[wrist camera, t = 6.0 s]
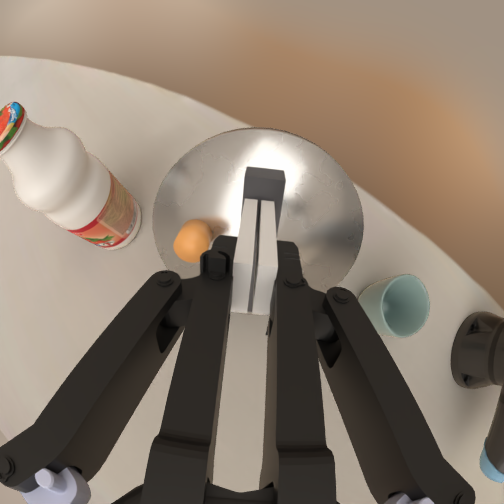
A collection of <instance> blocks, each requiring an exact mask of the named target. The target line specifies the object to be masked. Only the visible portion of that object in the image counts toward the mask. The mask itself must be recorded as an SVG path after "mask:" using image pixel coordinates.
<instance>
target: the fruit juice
mask: <svg viewBox="0 0 504 504" xmlns="http://www.w3.org/2000/svg"><path fill="white" fill-rule="evenodd" d="M0 158H1V159H2V161H3V162H4V163H5V164H6V166H7V167H8V169H9V171H10V172H11V174H12V178H13V186H14V190H15V193H16V195H17V197H18V198H19V200H20V201H21V202H22V203H23V204H24V205H25V206H27V207H28V208H30V209H32V210H35V211H39V212H44V214H45V215H46V217H47V218H48V219H50V220H51V221H52V222H53V223H55V224H56V225H58V226H60V227H61V228H64V229H66V230H68V231H70V232H71V233H73V234H75V235H77V236H79V237H81V238H83V239H85V240H87V241H89V242H91V243H93V244H95V245H97V246H99V247H101V248H104V249H108V250H115V249H120V248H122V247H124V246H126V245H127V244H129V243H130V242H131V241H132V240H133V239H134V237H135V236H136V234H137V233H138V230H139V228H140V224H141V211H140V208H139V205H138V203H137V202H136V200H135V199H134V198H133V197H132V196H131V195H130V193H129V192H128V191H127V190H126V189H125V188H124V187H123V186H122V185H121V183H120V182H119V181H118V180H117V179H116V178H115V177H114V176H113V175H112V173H111V172H110V171H109V170H108V169H107V168H106V166H105V165H104V164H103V163H102V162H101V161H100V160H99V159H98V158H97V157H96V156H94V155H93V154H92V153H90V152H87V151H86V150H85V147H84V145H83V143H82V141H81V139H80V138H79V137H78V136H77V135H76V134H75V133H74V132H72V131H71V130H69V129H67V128H64V127H44V126H41V125H38V124H36V123H34V122H32V121H31V120H29V119H28V118H27V112H26V111H25V110H24V108H23V106H21V105H20V104H19V103H17V102H11V103H9V104H7V105H6V106H5V107H3V108H2V109H1V110H0Z"/></svg>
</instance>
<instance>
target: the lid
mask: <svg viewBox="0 0 504 504" xmlns="http://www.w3.org/2000/svg"><path fill="white" fill-rule="evenodd" d="M245 198H246V199H255V200H258V202H257V215H256V228H255V242H254V255H253V267H252V275H251V284H250V292H249V301H248V309H247V313H244V314H252V307H253V292H254V276H255V261H256V245H257V234H258V226H259V217H260V209H261V201H262V200H265V201H274V206H275V222H276V239H277V240H281V241H290V242H294V243H295V245H296V246H297V247H298V250H299V256H300V261H301V267H302V274H303V277H304V278H305V279H306V280H307V282H308V286H310V287H311V288H313V289H315V290H318V291H321V292H324V293H326V292H327V290H329V289H330V288H332V287H336V286H337V285H338V284H339V283H340V282H341V281H342V280H343V278H344V277H345V276H346V275H347V273H348V272H349V270H350V269H351V267H352V266H353V264H354V262H355V260H356V258H357V255H358V253H359V250H360V247H361V243H362V238H363V230H364V224H363V212H362V207H361V202H360V199H359V197H358V194H357V191H356V189H355V187H354V185H353V183H352V182H351V180H350V178H349V177H348V175H347V174H346V173H345V171H344V170H343V169H342V168H341V166H340V165H339V164H338V163H337V162H336V160H334V159H333V158H332V157H331V156H330V155H329V154H328V153H327V152H326V151H325V150H323V149H322V148H320V147H319V146H318V145H316V144H315V143H313V142H311V141H309V140H307V139H305V138H303V137H301V136H299V135H296V134H293V133H290V132H287V131H283V130H278V129H273V128H259V127H251V128H241V129H235V130H231V131H227V132H223V133H220V134H218V135H215V136H213V137H210V138H208V139H206V140H205V141H203V142H201V143H200V144H198V145H196V146H195V147H194V148H192V149H191V150H190V151H189V152H187V153H186V154H185V155H184V156H183V157H182V158H181V159H180V160H179V161H178V162H177V163H176V164H175V165H174V166H173V167H172V168H171V170H170V171H169V172H168V174H167V175H166V177H165V179H164V180H163V182H162V184H161V186H160V188H159V191H158V193H157V196H156V200H155V203H154V209H153V233H154V239H155V243H156V246H157V249H158V252H159V254H160V256H161V258H162V260H163V262H164V264H165V265H166V267H167V268H168V270H169V271H174V272H176V273H178V274H179V276H180V277H181V279H187V278H193V277H196V276H198V275H200V256H201V254H202V253H203V252H205V251H207V250H211V248H212V245H213V242H214V239H215V238H217V237H218V236H219V235H226V236H236V237H238V233H239V228H240V222H241V217H242V211H243V206H244V201H245ZM237 313H238V312H237ZM269 314H270V312H269ZM254 315H258V314H254Z"/></svg>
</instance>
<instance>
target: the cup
mask: <svg viewBox="0 0 504 504" xmlns="http://www.w3.org/2000/svg"><path fill="white" fill-rule="evenodd" d="M358 302H359V303H360V305H361V306H362V308H363V310H364V311H365V313H366V314H367V316H368V318H369V319H370V321H371V323H372V324H373V326H374V328H375V329H376V331H377V333H378V334H379V335H382V336H388V337H395V338H405V337H409V336H412V335H413V334H415V333H417V332H418V331H419V330H420V329H421V328H422V327H423V325H424V324H425V322H426V320H427V318H428V315H429V310H430V301H429V296H428V293H427V290H426V288H425V286H424V285H423V283H422V282H421V281H420V280H419V279H418V278H417V277H415V276H414V275H410V274H402V275H397V276H393V277H389V278H386V279H382V280H380V281H377V282H375V283H373V284H371V285H370V286H368V287H367V288H366V289H365V290H364V291H363V292H362V293H361V294H360V296H359V298H358Z"/></svg>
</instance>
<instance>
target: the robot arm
mask: <svg viewBox="0 0 504 504" xmlns="http://www.w3.org/2000/svg"><path fill="white" fill-rule="evenodd" d="M257 202H258V200H255V199H246V198H245V201H244V206H243V211H242V217H241V222H240V228H239V233H238V237H236V236H226V235H219V236H218V237H217V238H215V239H214V242H213V245H212V248H211V250H207V251H205V252H203V253H202V254H201V256H200V275H198V276H196V277H193V278H187V279H181V277H180V276H179V274H178V273H176V272H174V271H168V270H165V271H159V272H157V273H155V274H153V275H152V276H151V277H150V278H149V279H148V280H147V281H146V283H145V284H144V285H143V286H142V287H141V288H140V289H139V290H138V292H137V293H136V294H135V295H134V296H133V297H132V298H131V300H130V301H129V302H128V303H127V304H126V305H125V307H124V308H123V309H122V310H121V311H120V312H119V314H118V315H117V316H116V317H115V318H114V320H113V321H112V322H111V323H110V324H109V325H108V327H107V328H106V329H105V330H104V332H103V333H102V334H101V335H100V336H99V338H98V339H97V340H96V341H95V343H94V344H93V345H92V346H91V348H90V349H89V350H88V351H87V353H86V354H85V355H84V356H83V358H82V359H81V360H80V361H79V363H78V364H77V365H76V367H75V368H74V369H73V370H72V372H71V373H70V374H69V376H68V377H67V378H66V380H65V381H64V382H63V384H62V385H61V386H60V388H59V389H58V391H57V392H56V393H55V395H54V396H53V397H52V399H51V400H50V402H49V403H48V404H47V406H46V407H45V409H44V410H43V411H42V413H41V414H40V416H39V417H38V419H37V420H36V422H35V423H34V424H33V425H32V426H30V427H29V428H28V429H26V430H25V431H23V432H22V433H20V434H19V435H17V436H16V437H14V438H13V439H12V440H10V441H9V442H7V443H6V444H4V445H3V446H1V447H0V482H1V483H2V484H4V485H5V486H7V487H9V488H12V489H14V490H17V491H19V492H20V493H21V494H22V496H23V497H24V499H25V500H26V502H27V503H28V504H87V503H88V502H89V500H90V497H91V492H90V488H89V485H88V484H87V482H88V481H90V480H91V479H92V478H93V477H94V476H95V474H96V473H97V472H98V471H99V470H100V468H101V467H102V465H103V464H104V462H105V461H106V459H107V457H108V456H109V454H110V452H111V450H112V449H113V447H114V445H115V444H116V442H117V440H118V438H119V437H120V435H121V433H122V432H123V430H124V428H125V426H126V425H127V423H128V421H129V420H130V418H131V416H132V415H133V413H134V411H135V409H136V408H137V406H138V404H139V403H140V401H141V399H142V398H143V396H144V394H145V393H146V391H147V389H148V388H149V386H150V384H151V383H152V381H153V379H154V378H155V376H156V374H157V373H158V371H159V369H160V368H161V366H162V364H163V363H164V361H165V359H166V358H167V356H168V355H169V353H170V351H171V350H172V348H173V346H174V345H175V343H176V341H177V340H178V338H179V337H180V335H181V333H182V332H183V330H184V333H183V337H182V341H181V345H180V348H179V352H178V356H177V360H176V364H175V368H174V372H173V376H172V381H171V385H170V389H169V393H168V397H167V402H166V406H165V411H164V415H163V420H162V424H161V429H160V432H159V434H158V435H157V436H156V437H155V438H154V440H153V442H152V445H151V449H150V454H149V458H148V463H147V469H146V474H145V479H144V484H142V485H140V486H138V487H136V488H134V489H133V490H131V491H130V492H128V493H127V494H125V495H124V496H122V497H121V498H119V499H118V500H116V501H115V502H113V503H111V504H340V503H339V502H337V501H336V478H335V462H334V456H333V453H332V451H331V450H330V449H328V448H327V445H326V438H325V424H324V412H323V400H322V389H321V379H320V370H319V361H320V363H321V366H322V368H323V371H324V373H325V376H326V378H327V381H328V383H329V386H330V388H331V391H332V393H333V396H334V399H335V401H336V404H337V406H338V409H339V411H340V414H341V416H342V419H343V422H344V424H345V427H346V429H347V432H348V435H349V437H350V440H351V443H352V445H353V448H354V451H355V453H356V456H357V459H358V461H359V464H360V467H361V469H362V472H363V475H364V478H365V480H366V483H367V485H368V487H369V490H370V492H371V494H372V495H373V497H374V498H375V500H376V502H377V503H378V504H475V498H476V497H475V491H474V490H473V488H472V487H471V486H470V485H469V484H468V482H467V481H466V480H465V479H464V478H463V477H462V476H461V475H460V474H459V473H458V472H457V471H456V470H455V469H454V468H453V467H452V466H451V465H450V464H449V463H448V462H447V461H446V460H445V459H444V458H443V456H442V454H441V452H440V450H439V447H438V445H437V443H436V441H435V439H434V437H433V435H432V432H431V430H430V428H429V426H428V424H427V422H426V420H425V418H424V416H423V414H422V412H421V410H420V408H419V406H418V404H417V402H416V400H415V399H414V397H413V395H412V393H411V391H410V389H409V387H408V385H407V384H406V382H405V380H404V378H403V376H402V374H401V373H400V371H399V369H398V367H397V365H396V364H395V362H394V360H393V358H392V357H391V355H390V353H389V351H388V350H387V348H386V346H385V344H384V343H383V341H382V339H381V338H380V336H379V334H378V333H377V331H376V329H375V328H374V326H373V324H372V323H371V321H370V319H369V318H368V316H367V314H366V313H365V311H364V310H363V308H362V306H361V305H360V303H359V302H358V300H357V298H356V297H355V295H354V294H353V293H352V292H351V291H349V290H347V289H345V288H342V287H332V288H330V289H329V290H327V292H326V293H324V292H321V291H318V290H315V289H313V288H311V287H310V286H308V282H307V280H306V279H305V278H304V277H303V274H302V267H301V261H300V256H299V250H298V247H297V246H296V245H295V243H294V242H290V241H281V240H277V239H276V222H275V206H274V201H265V200H262V201H261V209H260V217H259V226H258V234H257V245H256V261H255V276H254V292H253V307H252V314H258V315H269V312H270V317H269V322H268V327H267V332H266V335H268V345H267V374H266V400H265V423H264V443H263V462H262V469H261V474H260V482H259V490H255V491H249V492H243V493H239V492H235V491H231V490H228V489H225V488H222V487H219V486H216V485H213V484H212V482H213V468H214V455H215V445H216V435H217V426H218V417H219V408H220V399H221V390H222V381H223V372H224V364H225V355H226V347H227V338H228V330H229V322H230V312H238V313H247V309H248V301H249V292H250V284H251V275H252V267H253V255H254V242H255V228H256V215H257ZM184 328H185V329H184ZM318 358H319V361H318ZM451 369H452V374H453V377H454V379H455V381H456V383H457V384H458V385H460V386H461V387H465V388H469V389H476V388H481V387H485V386H489V385H493V384H495V385H500V386H502V389H501V393H500V397H499V401H498V404H497V408H496V411H495V415H494V418H493V421H492V424H491V427H490V430H489V433H488V436H487V437H486V439H485V442H484V447H483V450H482V453H481V456H480V468H481V470H482V472H483V473H484V475H485V476H487V477H488V478H489V479H491V480H493V481H495V482H499V483H502V482H503V481H504V318H501V317H499V316H497V315H494V314H492V313H490V312H476V313H473V314H471V315H470V316H469V317H468V318H467V319H466V320H465V321H464V322H463V324H462V325H461V327H460V329H459V331H458V333H457V335H456V338H455V341H454V344H453V349H452V355H451Z"/></svg>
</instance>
